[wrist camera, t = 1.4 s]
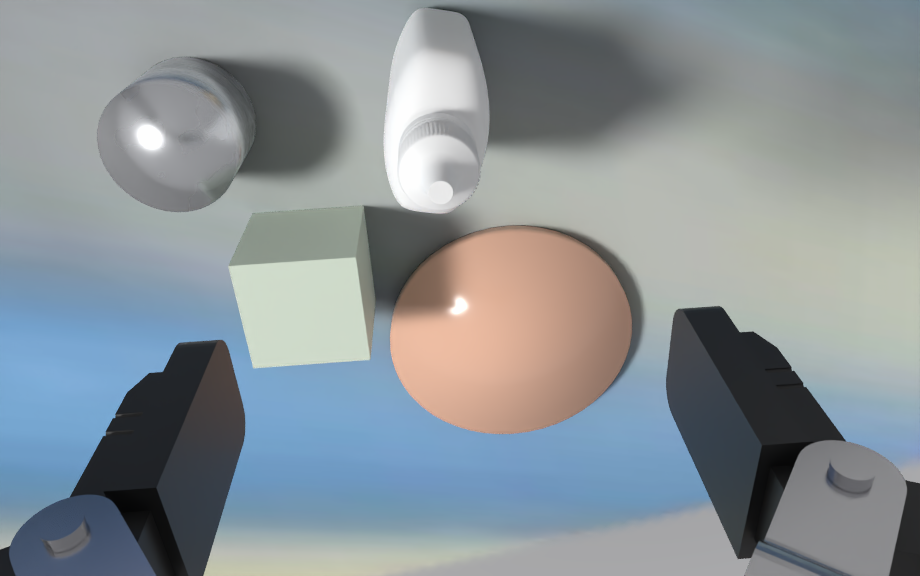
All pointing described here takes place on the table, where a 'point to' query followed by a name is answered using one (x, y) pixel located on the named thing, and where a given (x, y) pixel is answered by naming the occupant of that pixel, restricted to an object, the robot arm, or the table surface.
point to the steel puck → (177, 134)
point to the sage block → (305, 286)
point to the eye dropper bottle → (435, 113)
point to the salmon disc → (510, 330)
